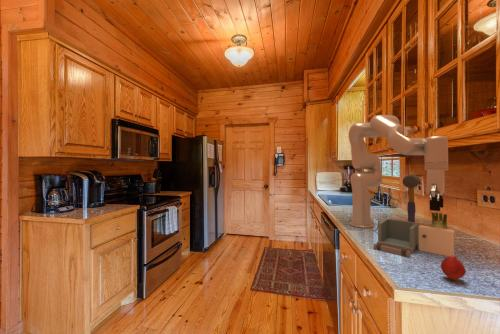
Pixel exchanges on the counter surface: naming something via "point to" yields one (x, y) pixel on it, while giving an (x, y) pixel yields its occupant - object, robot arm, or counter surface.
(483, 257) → the counter surface
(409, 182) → the rubber mallet
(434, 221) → the fennel bulb
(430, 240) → the door
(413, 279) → the counter surface
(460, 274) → the onion
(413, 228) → the cabinet
